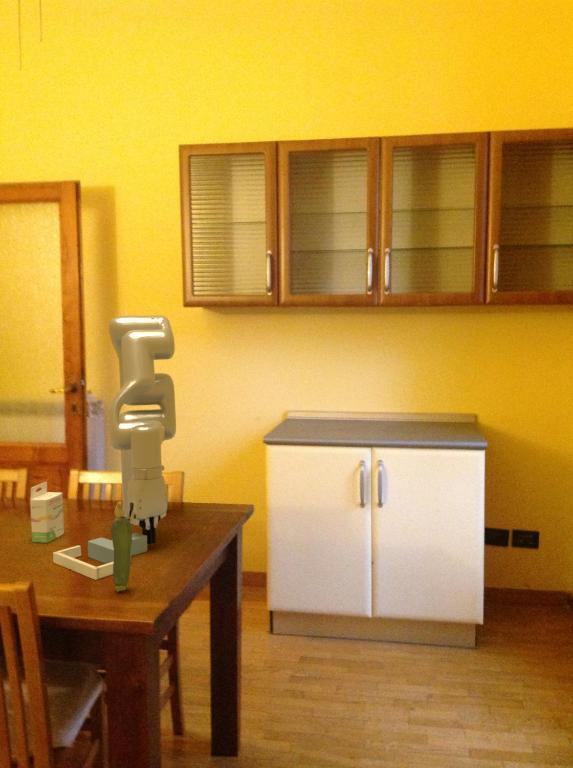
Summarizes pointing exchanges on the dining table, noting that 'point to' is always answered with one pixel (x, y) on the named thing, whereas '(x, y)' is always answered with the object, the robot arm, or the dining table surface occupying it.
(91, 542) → the t block
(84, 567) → the dock
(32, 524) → the ink box
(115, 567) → the vegetable
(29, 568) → the dining table surface
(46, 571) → the dining table surface
